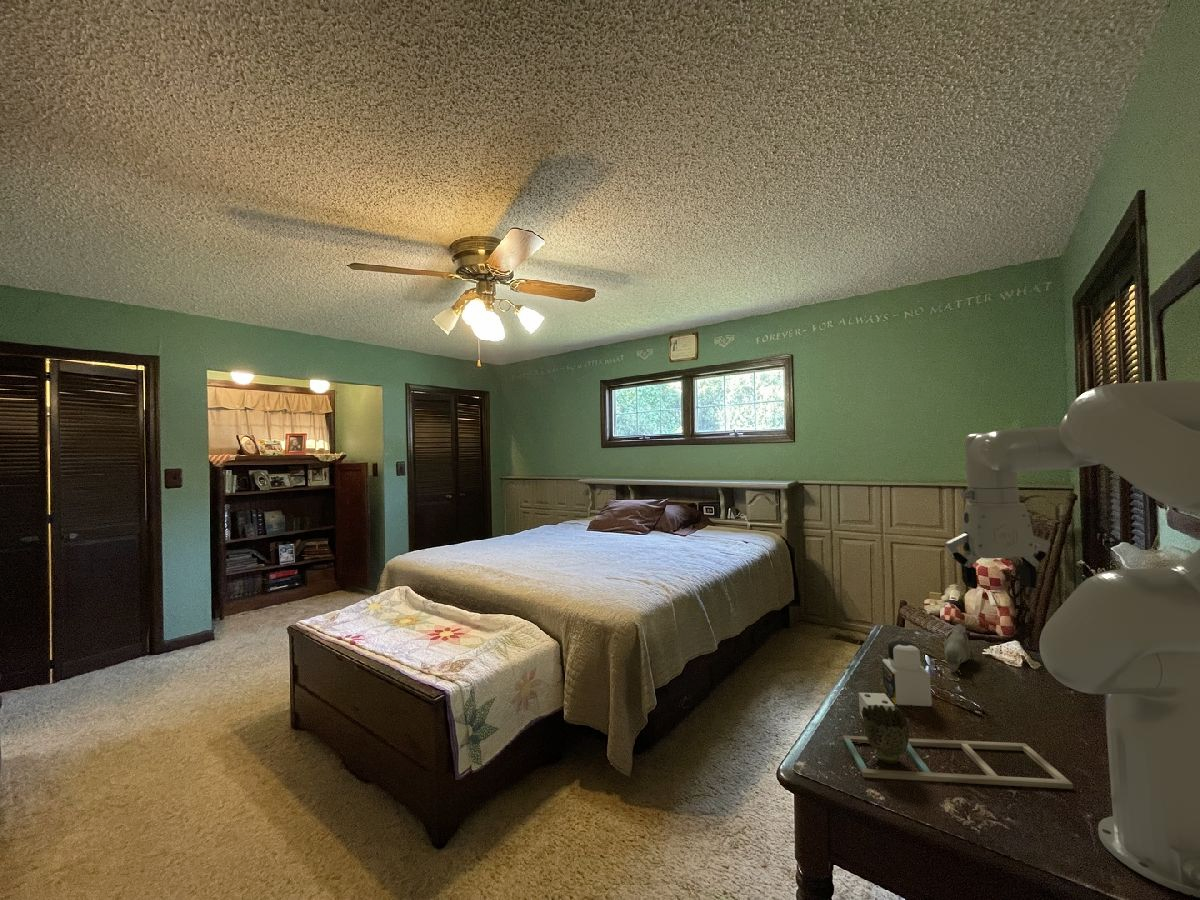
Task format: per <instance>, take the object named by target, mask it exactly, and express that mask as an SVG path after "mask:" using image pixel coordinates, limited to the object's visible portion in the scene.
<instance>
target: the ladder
mask: <svg viewBox="0 0 1200 900" xmlns="http://www.w3.org/2000/svg"><path fill="white" fill-rule="evenodd" d="M843 739H844V740H843ZM842 740H843V742H844V741H845V742H844V744H845V743H846V744H845V746H846V745H847V746H846V748H847V747H848V748H847V750H848V749H849V750H848V752H849V753H850V755H851V757H852V756H853V757H852V758H854V759H853V760H854V762H855V765H856V766H857V767H858V769H859V772H860V773H861V775H862V777H863V778H871V779H872V778H873V779H887V780H888V779H889V780H890V779H891V780H908V781H909V780H910V781H921V782H922V781H924V782H939V783H940V782H941V783H942V782H943V783H961V784H962V783H963V784H976V785H977V784H978V785H995V786H1014V787H1028V788H1029V787H1030V788H1031V787H1032V788H1047V789H1048V788H1049V789H1062V790H1063V789H1065V790H1074V784H1073V783H1072V782H1071V781H1070V780H1069V779H1067V778H1066V777H1065V775H1063V774H1062V773H1061V772H1059V771H1058V770H1057V769H1056V768H1055V767H1054V766H1052V765H1051V764H1050V763H1049V762H1048V761H1046V760H1045V758H1043V757H1042V756H1041V755H1040V754H1038V753H1037V752H1036V751H1035V750H1034V749H1033V748H1031V747H1030V745H1028V744H1026V743H1024V742H1023V743H1022V742H1001V741H1000V742H998V741H980V740H975V741H974V740H954V739H953V740H952V739H950V740H949V739H934V738H933V739H932V738H931V739H929V738H910V737H909V739H908V746H907V749H906V751H905V752H906V753H907V754H908V755H909V757H910V758H911V760H912V761H913V762H914V763H915V766H916V767H917V768H918V769H919V770H920V771H910V770H908V771H907V770H892V769H873V768H868V767H867V766H866V764H865V762H864V760H863V759H862V757H861V755H860V753H859V751H858V750H857V748H856V746H855V745H854V743H852V742H858V743H857V744H861V743H867V745H871V744H870V743H869V741H868V739H867V736H865V735H864V736H863V735H861V736H859V735H842ZM912 746H913V747H912ZM914 747H930V748H931V747H933V748H951V749H952V748H953V749H961V750H963V752H965V754H966V755H967V756H968V757H969V758H970V759H971V761H973V762H974V763H975V765H976V766H978V768H979V769H980V770H981V771H982V772H983V773H984V774H985V775H984V774H982V775H981V774H965V773H951V772H950V773H947V772H932V771H931V770H930V768H929V767H928V766H927V764H926V763H925V762H924V761H923V760H922V758H921V756H919V754H918V753H917V752H916V751H915V749H914ZM973 749H974V750H976V749H977V750H996V751H997V750H998V751H999V750H1000V751H1019V752H1022V751H1023V752H1024V753H1025V754H1026V756H1028V757H1029V758H1030V759H1032V760H1033V761H1034V762H1036V764H1037V765H1038V766H1040V768H1042V769H1043V770H1044V771H1045V772H1047V774H1049V775H1050V776H1051V777H1052V778H1039V777H1021V776H1001V775H998V774H997V773H996V772H995V771H994V770H993V769H992V767H990V766H989V765H988V764H987V763H986V762H985V761H984V760H983V759H982V758H981V757H980V755H978V753H976V751H974V750H973Z"/></svg>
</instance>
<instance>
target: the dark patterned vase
mask: <svg viewBox="0 0 1200 900" xmlns="http://www.w3.org/2000/svg"><path fill="white" fill-rule="evenodd" d="M905 714H906V713H905V712H902V711H901V710H900V708H895V710H893V711H892V708H891V707H890V706H889V707H888V710H887V711H886V709H885V708H884V707H883V705H880V707H878V706H877V705H874V707H873V710H872V708H871V706H870V705H869V706H868V710H867V708H865V707H863V711H862V716H863V720H862V722H863V725H864V730H865V734H866V737H867V739H868V741H869V743H870V744H869V745H870V746H871V747H872V748H873V749H874V750H875V754H876V756H877V758H878V759H879V760H880V761H881V762H883V763H886V764H890V765H892V764H894V765H895V764H898V763H899V761H900V759H901V755H903V754H904V753H905V752H906V749H907V746H908V739H909V738H910V737H909V736H910V735H909V734H910V724H911V723H910V722H911V719H910V718H908V719H907V718H906V715H905Z"/></svg>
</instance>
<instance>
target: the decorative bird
mask: <svg viewBox="0 0 1200 900" xmlns="http://www.w3.org/2000/svg"><path fill="white" fill-rule="evenodd" d="M966 629H967V628H966V627H965V626H963V625H962V624H960V623H958V624H955V625H954V627H952V631H951V632H949V633H948V634H947V635H946V637H945V639H944V642H943V645H944V646H943V647H944V648H943V649H944V659H945V662H946V664H947V667H948V668H949V670H950V671H951V673H953V672H954V673H956V671H957V670H958V669H959V667H960V665H961V664H962V663H965V662H966V661H968V660H969V658H970V657H971V654H973V652H972V649H971V643H970V640H969V636H968V635H967V634H966V631H967V630H966Z"/></svg>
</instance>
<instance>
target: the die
mask: <svg viewBox="0 0 1200 900" xmlns="http://www.w3.org/2000/svg"><path fill="white" fill-rule="evenodd" d="M858 704H859V705H858V706H859V716H860V715H861V717H862V718H861V717H860V718H861V720H862V719H863V716H862V711H863V707H865V708H867V710H868V706H869V705H870V706H871V708H872V710H873V707H874V705H877V706H878V707H880V705H883V707H884V708H885V709H886V711H887V710H888V707H889V706H890V707H891V708H892V711H893V710H896V707H895V703H894V702H893V701H891V698H890V697H889V696H888V695H887V693H880V692H858Z"/></svg>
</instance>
